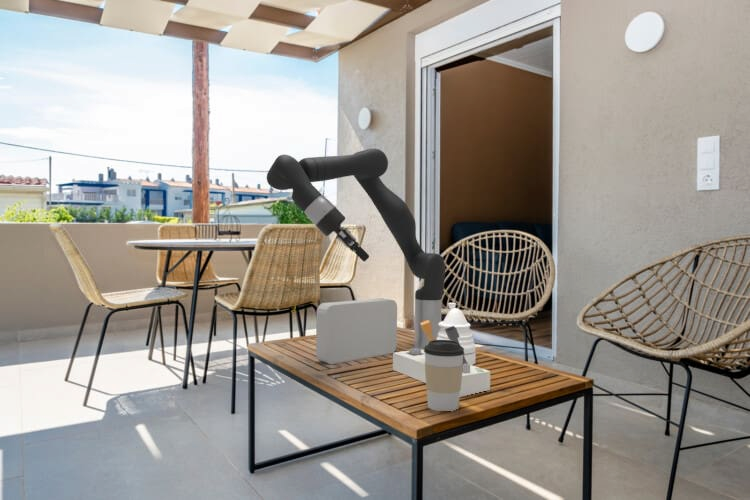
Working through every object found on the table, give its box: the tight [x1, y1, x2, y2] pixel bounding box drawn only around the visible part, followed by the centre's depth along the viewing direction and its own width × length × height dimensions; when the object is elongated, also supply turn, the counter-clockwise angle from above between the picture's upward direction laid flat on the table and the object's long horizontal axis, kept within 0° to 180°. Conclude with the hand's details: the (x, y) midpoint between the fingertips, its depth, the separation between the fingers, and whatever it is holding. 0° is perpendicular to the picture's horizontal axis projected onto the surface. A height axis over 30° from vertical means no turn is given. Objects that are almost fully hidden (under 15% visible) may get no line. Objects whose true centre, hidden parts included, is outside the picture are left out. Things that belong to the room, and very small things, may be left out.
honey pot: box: [436, 302, 477, 366], centre depth 157 cm, size 13×13×18 cm
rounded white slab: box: [315, 297, 398, 365], centre depth 161 cm, size 29×8×18 cm, turn 129°
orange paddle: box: [420, 320, 434, 341], centre depth 136 cm, size 2×4×11 cm, turn 3°
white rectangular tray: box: [392, 349, 491, 398], centre depth 136 cm, size 10×29×7 cm, turn 32°
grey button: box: [408, 347, 421, 356], centre depth 145 cm, size 3×3×3 cm
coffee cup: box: [424, 340, 464, 412], centre depth 113 cm, size 9×9×15 cm
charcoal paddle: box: [445, 326, 468, 364], centre depth 127 cm, size 2×4×11 cm, turn 3°
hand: (366, 258), depth 140 cm, fingers open, 6 cm apart
